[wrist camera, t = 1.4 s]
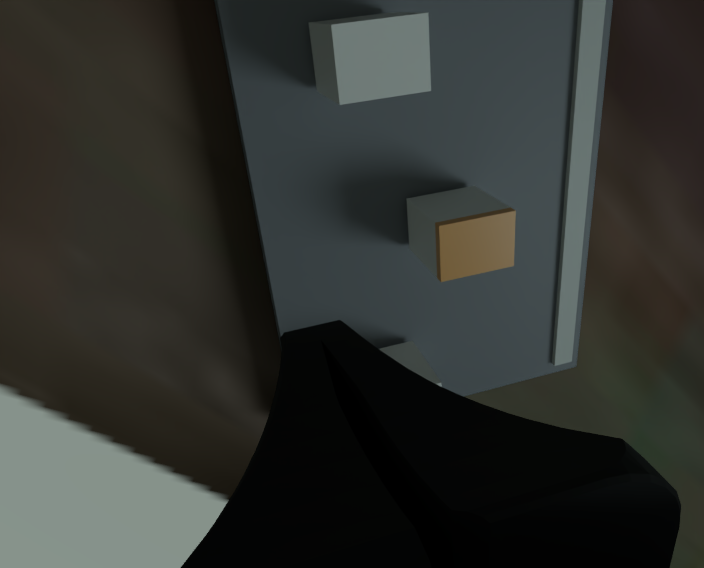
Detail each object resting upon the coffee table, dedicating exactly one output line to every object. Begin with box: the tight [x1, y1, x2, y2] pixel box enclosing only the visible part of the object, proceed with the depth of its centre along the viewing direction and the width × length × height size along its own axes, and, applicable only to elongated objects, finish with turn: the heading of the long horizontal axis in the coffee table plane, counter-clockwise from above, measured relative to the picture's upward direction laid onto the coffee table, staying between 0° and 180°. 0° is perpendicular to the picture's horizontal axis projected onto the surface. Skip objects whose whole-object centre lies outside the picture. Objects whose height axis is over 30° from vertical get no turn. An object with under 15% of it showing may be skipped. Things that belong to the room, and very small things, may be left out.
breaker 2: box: [380, 341, 442, 387], centre depth 20 cm, size 2×2×3 cm
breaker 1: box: [309, 12, 431, 105], centre depth 15 cm, size 2×2×3 cm
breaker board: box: [214, 0, 613, 396], centre depth 20 cm, size 16×12×2 cm
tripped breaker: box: [406, 186, 516, 282], centre depth 18 cm, size 2×2×3 cm
